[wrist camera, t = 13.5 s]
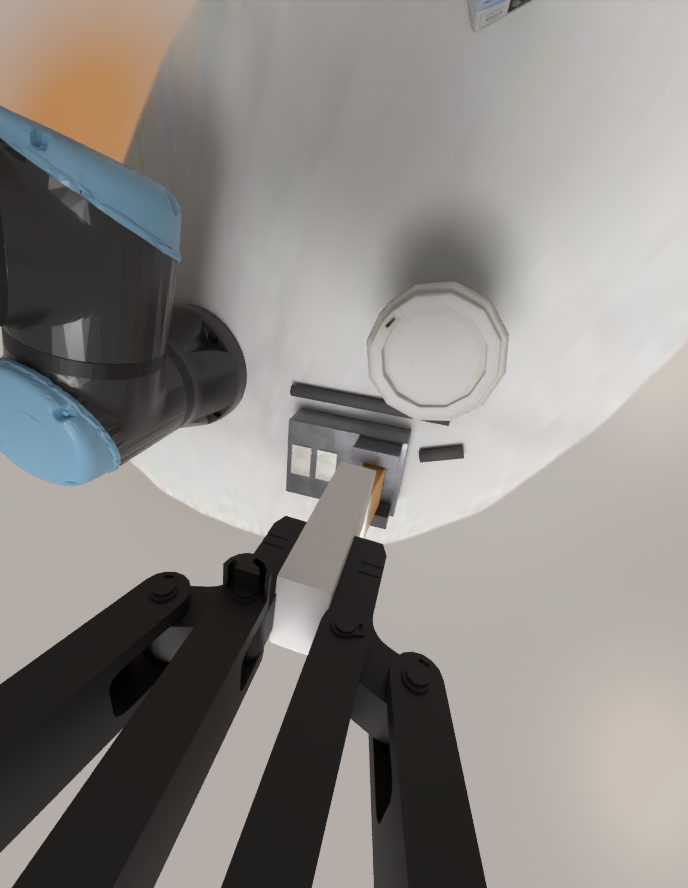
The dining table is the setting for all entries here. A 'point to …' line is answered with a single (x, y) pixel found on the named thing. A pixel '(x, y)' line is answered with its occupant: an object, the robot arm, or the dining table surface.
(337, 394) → the dark grey rod
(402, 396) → the disposable coffee cup
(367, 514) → the lever
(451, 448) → the dark grey peg
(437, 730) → the robot arm
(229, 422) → the dining table surface
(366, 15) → the dining table surface
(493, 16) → the light bulb box
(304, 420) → the labelled grey housing
